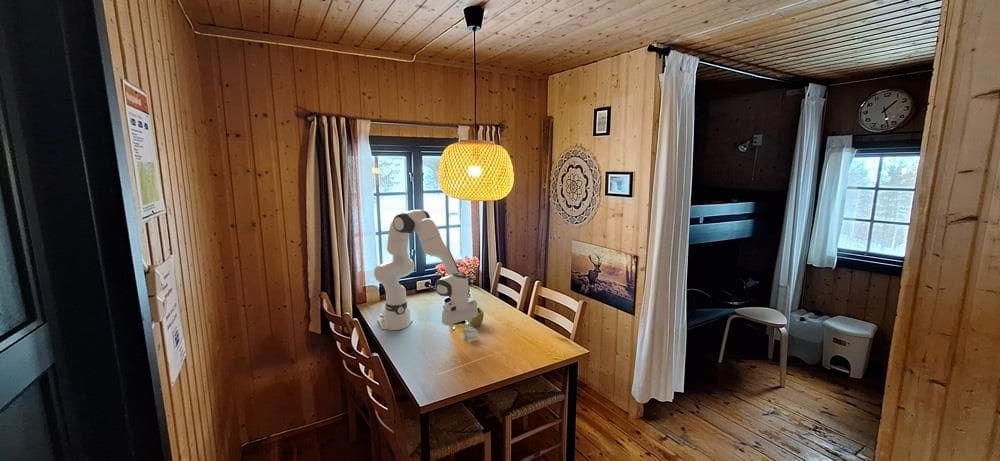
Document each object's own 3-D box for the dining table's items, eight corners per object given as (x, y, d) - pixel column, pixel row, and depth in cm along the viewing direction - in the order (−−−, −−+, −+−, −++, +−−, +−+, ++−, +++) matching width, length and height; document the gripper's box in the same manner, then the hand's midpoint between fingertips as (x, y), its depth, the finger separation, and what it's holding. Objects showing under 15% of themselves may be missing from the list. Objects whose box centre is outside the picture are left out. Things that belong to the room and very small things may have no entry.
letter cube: (471, 326, 214) (471, 335, 215) (463, 328, 211) (463, 338, 212) (477, 329, 209) (477, 339, 210) (468, 332, 206) (468, 342, 207)
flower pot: (484, 327, 227) (484, 312, 225) (469, 329, 224) (469, 314, 222) (479, 321, 235) (479, 307, 233) (465, 323, 232) (465, 309, 230)
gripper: (473, 297, 212) (473, 321, 215) (440, 306, 200) (440, 331, 203) (480, 301, 207) (480, 325, 210) (446, 309, 195) (446, 335, 198)
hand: (460, 328), depth 206 cm, fingers open, 8 cm apart
